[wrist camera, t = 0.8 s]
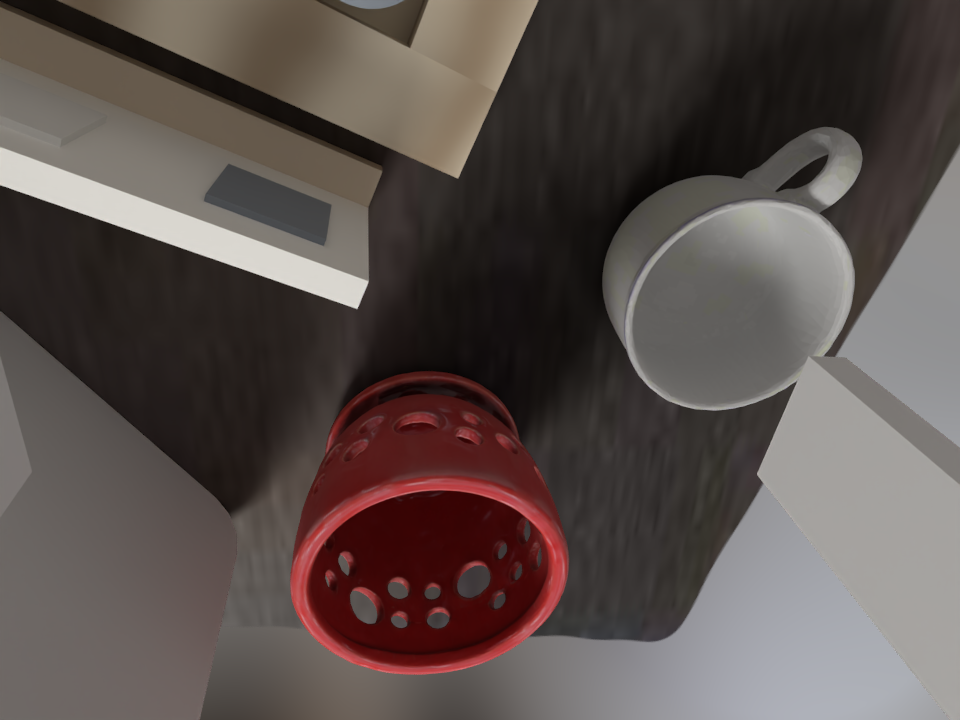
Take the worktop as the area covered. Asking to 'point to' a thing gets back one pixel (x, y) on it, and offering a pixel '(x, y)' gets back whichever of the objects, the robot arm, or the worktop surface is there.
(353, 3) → the button
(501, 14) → the button board
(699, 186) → the teacup
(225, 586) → the rounded white slab
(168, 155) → the pattern card
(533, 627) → the plant pot
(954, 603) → the robot arm
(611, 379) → the worktop surface
